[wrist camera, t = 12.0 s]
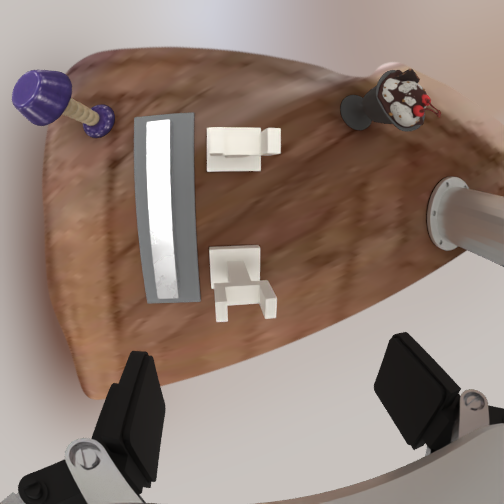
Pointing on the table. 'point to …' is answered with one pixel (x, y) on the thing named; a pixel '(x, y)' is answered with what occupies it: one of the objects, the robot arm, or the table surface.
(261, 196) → the table surface
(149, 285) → the mat
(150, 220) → the rail
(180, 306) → the table surface
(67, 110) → the toy lamp
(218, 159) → the rack
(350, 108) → the sundae
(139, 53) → the table surface
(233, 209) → the table surface
